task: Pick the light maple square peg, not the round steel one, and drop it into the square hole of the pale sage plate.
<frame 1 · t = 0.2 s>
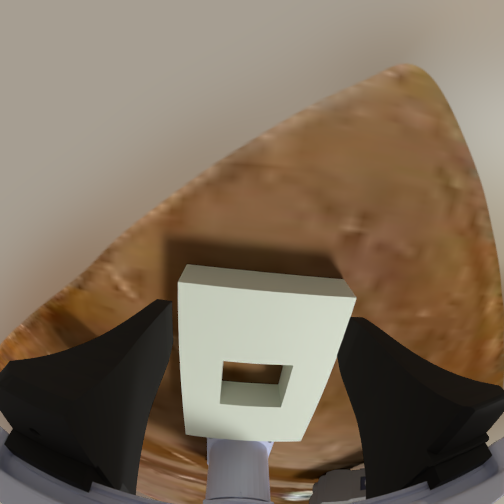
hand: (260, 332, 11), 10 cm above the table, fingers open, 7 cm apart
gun: (384, 452, 33), on the table
socket plate: (253, 363, 24), on the table
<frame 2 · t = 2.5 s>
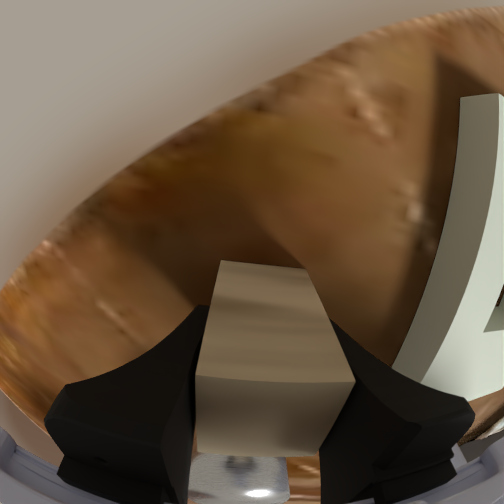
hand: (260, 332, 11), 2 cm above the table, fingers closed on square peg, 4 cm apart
square peg: (258, 302, 13), on the table, touching gripper
socket plate: (493, 269, 13), on the table
round peg: (238, 424, 16), on the table
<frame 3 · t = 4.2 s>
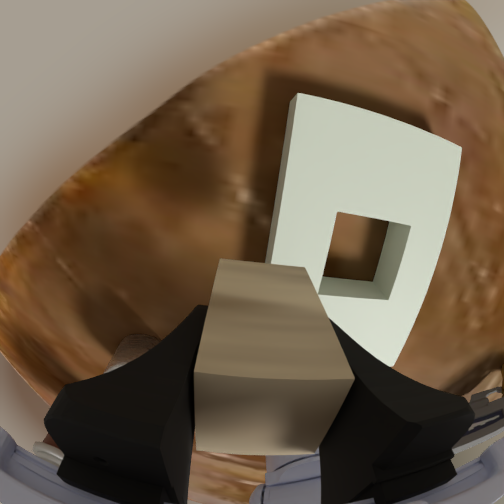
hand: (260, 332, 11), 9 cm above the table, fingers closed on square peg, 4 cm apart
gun: (447, 404, 29), on the table
square peg: (257, 300, 13), point 7 cm above the table, touching gripper
socket plate: (351, 244, 20), on the table
round peg: (147, 358, 23), on the table
coffee cup: (97, 406, 26), on the table
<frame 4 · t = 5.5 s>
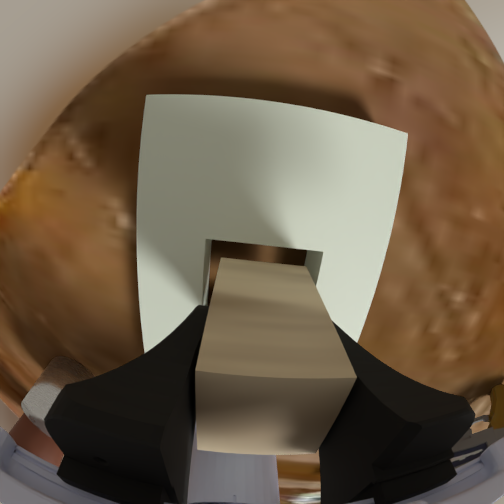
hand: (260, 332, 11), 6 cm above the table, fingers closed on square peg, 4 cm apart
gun: (425, 433, 25), on the table
square peg: (258, 299, 13), point 3 cm above the table, touching gripper
socket plate: (256, 273, 16), on the table
round peg: (75, 379, 20), on the table
coffee cup: (50, 419, 23), on the table
when the fingers open (4 cm above the table, at t = 6.4 s): square peg drops 1 cm, resting in socket plate.
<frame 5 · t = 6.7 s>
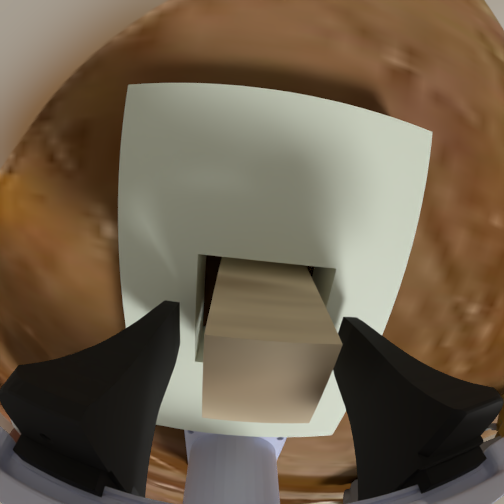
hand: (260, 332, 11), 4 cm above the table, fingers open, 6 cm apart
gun: (432, 443, 23), on the table
square peg: (257, 286, 14), resting in socket plate
socket plate: (257, 288, 14), on the table
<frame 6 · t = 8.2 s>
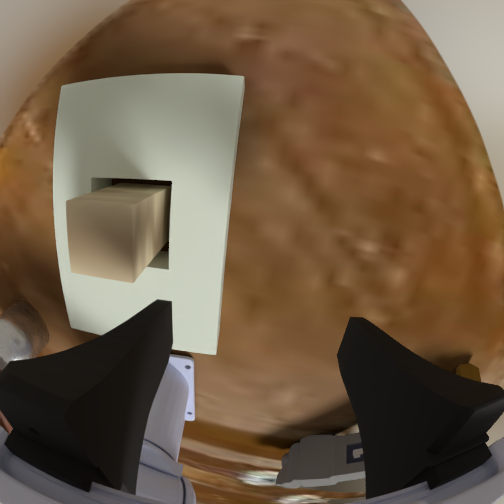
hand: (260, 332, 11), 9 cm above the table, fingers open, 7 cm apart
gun: (378, 412, 27), on the table
square peg: (144, 210, 19), resting in socket plate
socket plate: (144, 212, 19), on the table
round peg: (29, 324, 22), on the table
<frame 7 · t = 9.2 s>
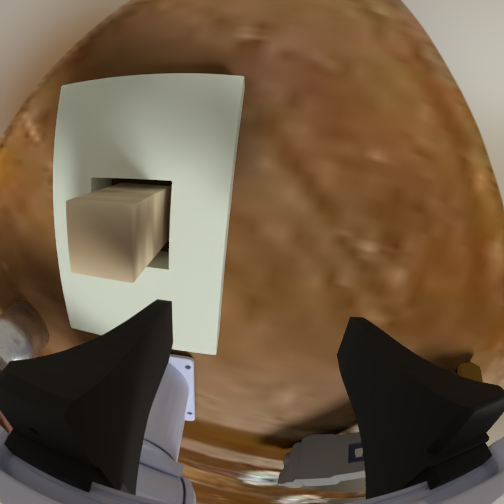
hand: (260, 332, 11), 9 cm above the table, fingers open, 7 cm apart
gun: (380, 411, 27), on the table
square peg: (144, 210, 19), resting in socket plate
socket plate: (144, 212, 19), on the table
round peg: (29, 324, 22), on the table
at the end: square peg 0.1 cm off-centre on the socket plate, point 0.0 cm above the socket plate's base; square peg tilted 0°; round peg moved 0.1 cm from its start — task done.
